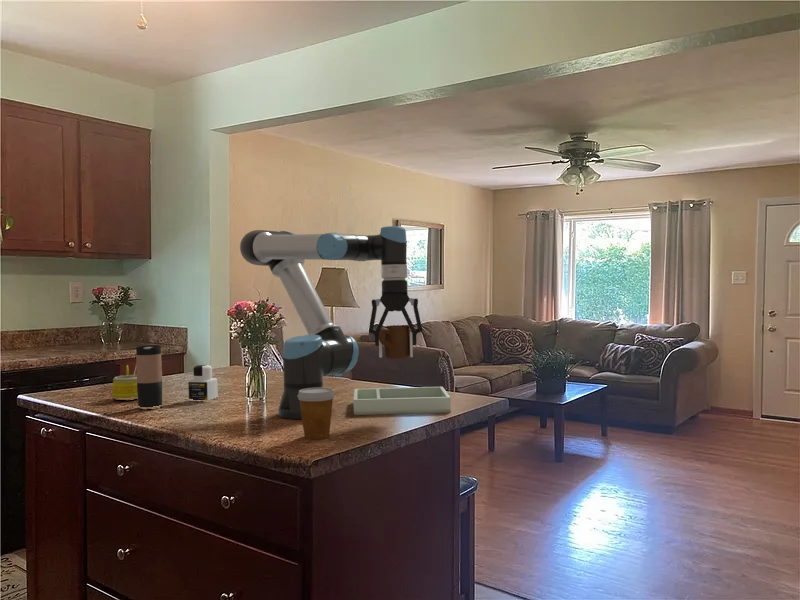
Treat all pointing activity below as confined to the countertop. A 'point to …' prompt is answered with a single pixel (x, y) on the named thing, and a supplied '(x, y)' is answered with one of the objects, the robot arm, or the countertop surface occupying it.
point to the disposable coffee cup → (316, 411)
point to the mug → (395, 341)
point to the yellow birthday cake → (125, 385)
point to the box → (401, 400)
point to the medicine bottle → (203, 384)
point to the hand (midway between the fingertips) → (396, 356)
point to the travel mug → (149, 375)
